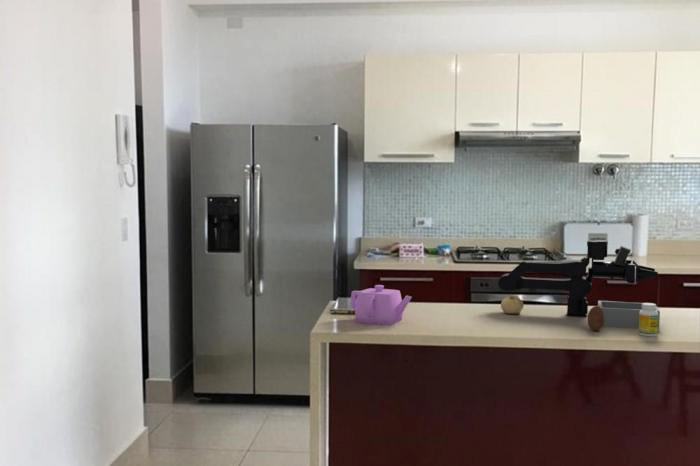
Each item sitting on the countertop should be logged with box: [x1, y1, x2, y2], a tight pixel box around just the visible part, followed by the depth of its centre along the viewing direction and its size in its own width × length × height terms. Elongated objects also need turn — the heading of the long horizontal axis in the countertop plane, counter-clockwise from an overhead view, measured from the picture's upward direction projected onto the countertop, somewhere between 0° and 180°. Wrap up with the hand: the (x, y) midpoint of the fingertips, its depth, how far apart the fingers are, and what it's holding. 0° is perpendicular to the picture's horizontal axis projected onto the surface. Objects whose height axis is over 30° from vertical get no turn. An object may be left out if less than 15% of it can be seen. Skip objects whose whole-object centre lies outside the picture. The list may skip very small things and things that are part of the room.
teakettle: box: [349, 284, 412, 326], centre depth 215 cm, size 17×17×12 cm
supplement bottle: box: [638, 302, 659, 337], centre depth 193 cm, size 5×5×10 cm
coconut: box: [587, 305, 605, 332], centre depth 199 cm, size 5×5×8 cm
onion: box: [500, 294, 524, 315], centre depth 228 cm, size 8×8×7 cm
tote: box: [597, 300, 661, 331], centre depth 210 cm, size 18×14×6 cm
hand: (656, 271), depth 215 cm, fingers open, 9 cm apart
